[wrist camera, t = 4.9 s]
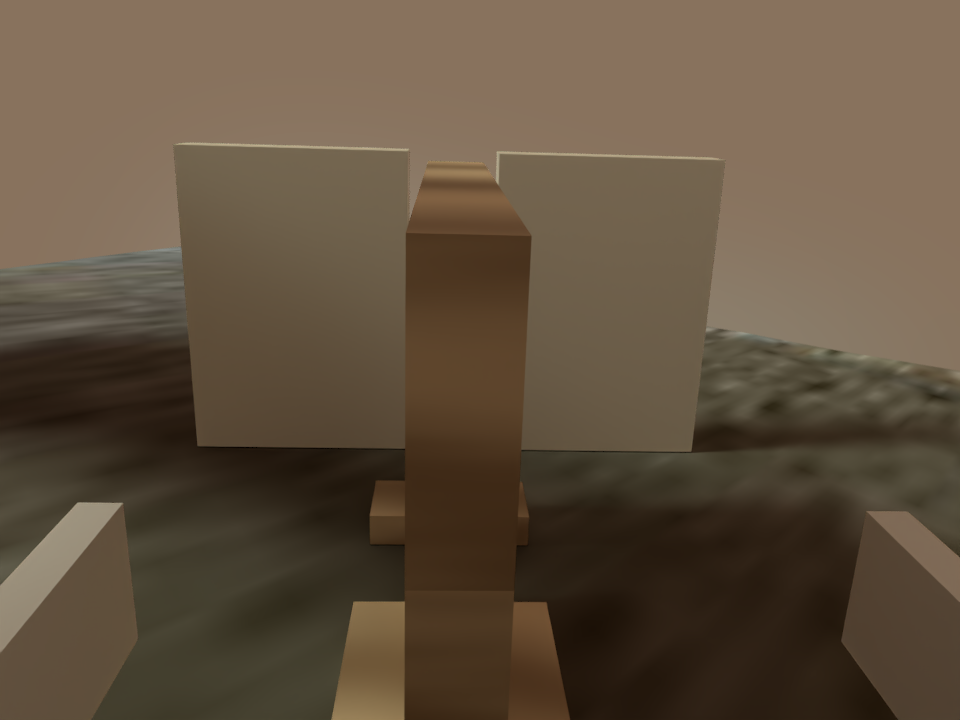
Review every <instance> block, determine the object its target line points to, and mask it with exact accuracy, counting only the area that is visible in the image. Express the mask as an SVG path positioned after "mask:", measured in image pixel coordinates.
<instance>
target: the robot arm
mask: <svg viewBox="0 0 960 720" xmlns="http://www.w3.org/2000/svg"><path fill="white" fill-rule="evenodd" d="M137 640H138V632H137V623H136V614H135V606H134V597H133V588H132V579H131V570H130V561H129V552H128V543H127V534H126V525H125V516H124V507H123V503H77V504H76V505H75V506H74V507H73V508H72V509H71V510H70V511H69V513H68V514H67V515H66V516H65V517H64V518H63V519H62V520H61V521H60V522H59V523H58V524H57V525H56V526H55V528H54V529H53V530H52V531H51V532H50V533H49V534H48V535H47V536H46V537H45V538H44V539H43V540H42V541H41V543H40V544H39V545H38V546H37V547H36V548H35V549H34V550H33V551H32V552H31V553H30V554H29V555H28V556H27V558H26V559H25V560H24V561H23V562H22V563H21V564H20V565H19V566H18V567H17V568H16V569H15V570H14V571H13V573H12V574H11V575H10V576H9V577H8V578H7V579H6V580H5V581H4V582H3V583H2V584H1V585H0V720H91V719H92V717H93V716H94V714H95V712H96V711H97V709H98V707H99V705H100V704H101V702H102V700H103V699H104V697H105V695H106V693H107V692H108V690H109V688H110V686H111V685H112V683H113V681H114V680H115V678H116V676H117V674H118V673H119V671H120V669H121V668H122V666H123V664H124V662H125V661H126V659H127V657H128V656H129V654H130V652H131V650H132V649H133V647H134V645H135V644H136V642H137ZM841 642H842V643H843V645H844V646H845V647H846V649H847V650H848V652H849V653H850V654H851V656H852V657H853V658H854V660H855V661H856V663H857V664H858V665H859V667H860V668H861V669H862V671H863V672H864V674H865V675H866V676H867V678H868V679H869V680H870V682H871V683H872V684H873V686H874V687H875V689H876V690H877V691H878V693H879V694H880V695H881V697H882V698H883V700H884V701H885V702H886V704H887V705H888V706H889V708H890V709H891V711H892V712H893V713H894V715H895V716H896V717H897V719H898V720H960V557H958V556H957V555H956V554H955V553H954V552H953V551H952V550H951V549H949V548H948V547H947V546H946V545H945V544H944V543H943V542H942V541H940V540H939V539H938V538H937V537H936V536H935V535H934V534H933V533H931V532H930V531H929V530H928V529H927V528H926V527H925V526H924V525H922V524H921V523H920V522H919V521H918V520H917V519H916V518H915V517H913V516H912V515H911V514H910V513H909V512H903V511H866V515H865V520H864V525H863V531H862V536H861V541H860V546H859V551H858V556H857V562H856V567H855V572H854V577H853V582H852V588H851V593H850V598H849V603H848V608H847V613H846V619H845V624H844V629H843V634H842V639H841Z"/></svg>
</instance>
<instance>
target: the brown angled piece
mask: <svg viewBox="0 0 960 720" xmlns="http://www.w3.org/2000/svg"><path fill="white" fill-rule="evenodd" d="M531 240H532V236H531V234H530V233H529V231H528V230H527V228H526V227H525V225H524V224H523V222H522V220H521V219H520V217H519V216H518V214H517V213H516V211H515V210H514V208H513V207H512V205H511V204H510V202H509V201H508V199H507V198H506V196H505V195H504V193H503V192H502V190H501V189H500V187H499V185H498V184H497V182H496V181H495V179H494V178H493V177H492V175H491V173H490V172H489V170H488V169H487V167H486V166H485V164H484V163H481V162H445V161H428V164H427V168H426V171H425V174H424V177H423V180H422V183H421V186H420V189H419V193H418V196H417V199H416V202H415V205H414V208H413V211H412V215H411V218H410V221H409V224H408V227H407V230H406V290H405V481H376V484H375V490H374V495H373V500H372V506H371V511H370V544H393V545H405V602H353V608H352V613H351V618H350V624H349V629H348V634H347V640H346V645H345V650H344V656H343V661H342V667H341V672H340V677H339V683H338V688H337V693H336V699H335V704H334V709H333V715H332V720H570V717H569V712H568V707H567V702H566V697H565V692H564V687H563V682H562V677H561V672H560V667H559V662H558V657H557V652H556V647H555V642H554V637H553V632H552V627H551V623H550V618H549V613H548V608H547V603H546V602H514V587H515V567H516V546H517V545H528V530H529V514H528V509H527V504H526V499H525V494H524V489H523V484H522V482H520V464H521V444H522V424H523V403H524V383H525V362H526V342H527V321H528V301H529V280H530V260H531Z"/></svg>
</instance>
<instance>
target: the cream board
mask: <svg viewBox="0 0 960 720" xmlns="http://www.w3.org/2000/svg"><path fill="white" fill-rule="evenodd" d="M173 146H174V147H173V148H174V160H175V173H176V185H177V196H178V210H179V222H180V235H181V247H182V260H183V272H184V285H185V297H186V310H187V322H188V335H189V347H190V360H191V372H192V385H193V397H194V410H195V422H196V435H197V446H214V447H302V448H389V449H405V290H406V230H407V227H408V224H409V178H410V177H409V176H410V170H409V169H410V166H409V165H410V158H409V157H410V149H397V148H362V147H327V146H291V145H258V144H257V145H256V144H223V143H222V144H221V143H180V144H174V145H173ZM496 166H497V167H496V182H497V184H498V185H499V187H500V189H501V190H502V192H503V193H504V195H505V196H506V198H507V199H508V201H509V202H510V204H511V205H512V207H513V208H514V210H515V211H516V213H517V214H518V216H519V217H520V219H521V220H522V222H523V224H524V225H525V227H526V228H527V230H528V231H529V233H530V234H531V236H532V240H531V260H530V280H529V301H528V321H527V342H526V362H525V383H524V403H523V424H522V444H521V450H565V451H652V452H691V451H692V443H693V434H694V425H695V417H696V408H697V400H698V391H699V383H700V374H701V365H702V357H703V348H704V340H705V331H706V322H707V314H708V306H709V297H710V288H711V279H712V271H713V262H714V254H715V245H716V237H717V228H718V220H719V211H720V202H721V194H722V186H723V177H724V168H725V160H721V159H716V158H710V157H675V156H674V157H673V156H640V155H605V154H571V153H535V152H501V151H500V152H499V151H498V152H497V163H496Z"/></svg>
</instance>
